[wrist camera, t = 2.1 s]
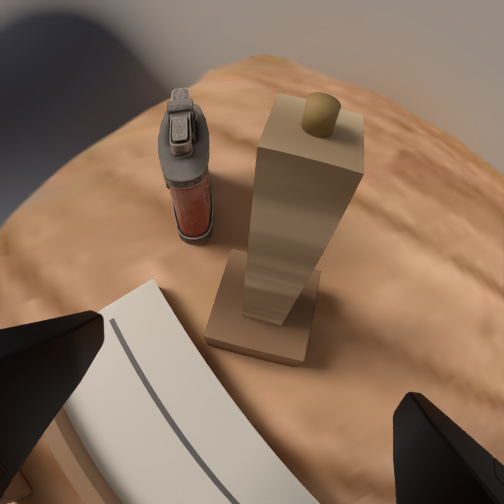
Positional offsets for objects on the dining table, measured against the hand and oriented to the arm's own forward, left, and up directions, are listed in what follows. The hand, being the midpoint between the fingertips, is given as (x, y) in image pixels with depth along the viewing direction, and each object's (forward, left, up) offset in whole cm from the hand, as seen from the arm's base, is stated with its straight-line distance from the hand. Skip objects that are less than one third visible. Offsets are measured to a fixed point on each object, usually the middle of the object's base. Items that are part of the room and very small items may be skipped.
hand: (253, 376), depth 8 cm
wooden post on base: (+3, -4, -12) cm, 13 cm away
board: (-3, +7, -12) cm, 14 cm away
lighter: (+14, -5, -13) cm, 20 cm away
